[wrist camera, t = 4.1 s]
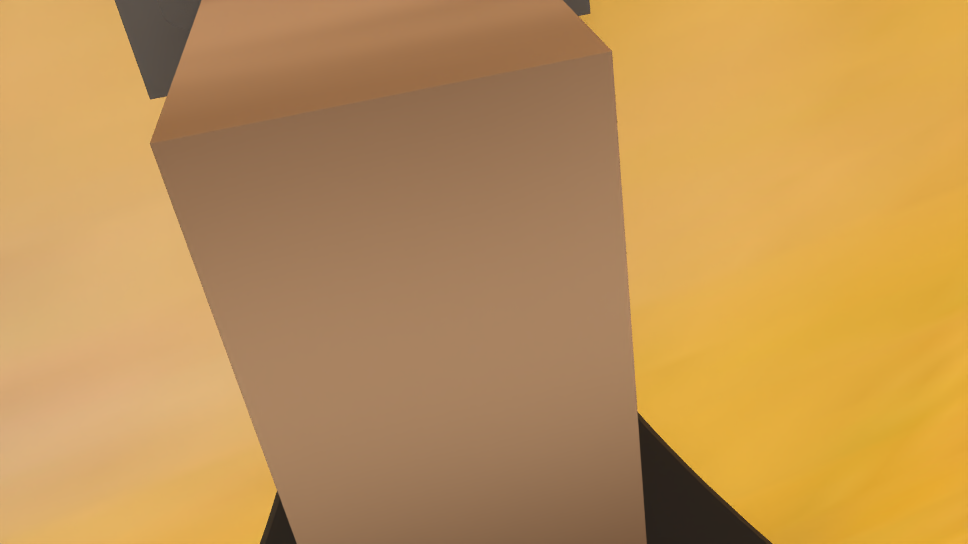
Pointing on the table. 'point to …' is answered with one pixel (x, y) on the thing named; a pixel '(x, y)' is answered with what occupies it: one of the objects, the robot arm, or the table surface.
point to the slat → (416, 263)
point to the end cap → (181, 36)
